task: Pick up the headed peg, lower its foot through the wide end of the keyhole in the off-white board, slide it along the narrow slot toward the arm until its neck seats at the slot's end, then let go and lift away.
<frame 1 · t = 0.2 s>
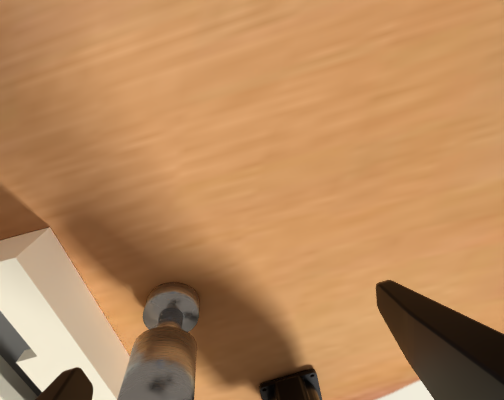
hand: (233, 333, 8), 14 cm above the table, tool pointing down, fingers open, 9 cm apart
keyhole board: (42, 340, 25), on the table
keyhole peg: (173, 303, 25), on the table
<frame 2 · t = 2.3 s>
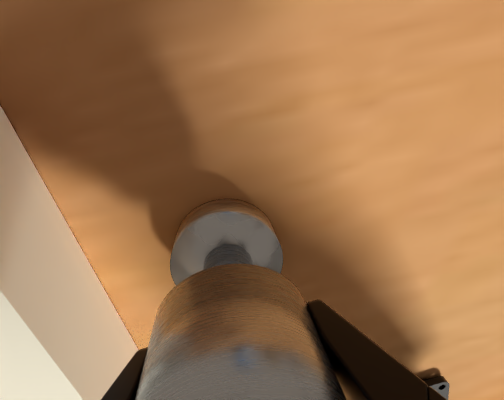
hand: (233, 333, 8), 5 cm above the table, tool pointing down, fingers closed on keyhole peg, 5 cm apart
keyhole peg: (226, 244, 13), on the table, touching gripper
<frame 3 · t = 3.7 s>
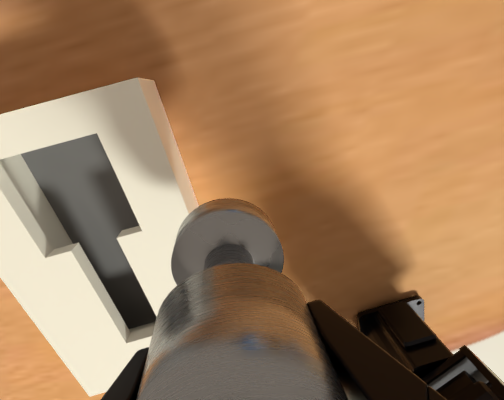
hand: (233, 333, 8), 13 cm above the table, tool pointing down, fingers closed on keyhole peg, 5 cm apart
keyhole board: (127, 239, 21), on the table
keyhole peg: (227, 244, 13), point 8 cm above the table, touching gripper
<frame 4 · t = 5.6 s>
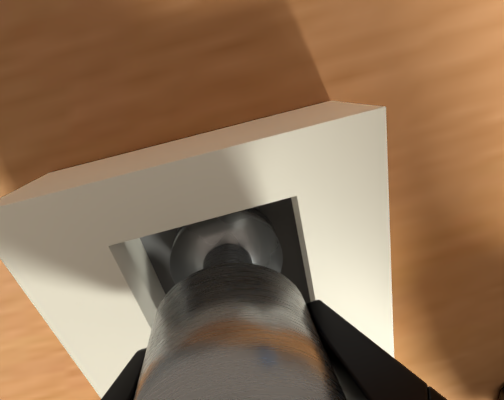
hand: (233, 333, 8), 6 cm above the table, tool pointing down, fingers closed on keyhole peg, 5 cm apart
keyhole board: (247, 313, 15), on the table
keyhole peg: (226, 244, 13), point 1 cm above the table, touching gripper
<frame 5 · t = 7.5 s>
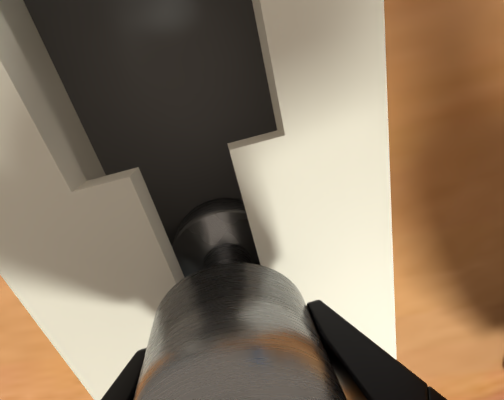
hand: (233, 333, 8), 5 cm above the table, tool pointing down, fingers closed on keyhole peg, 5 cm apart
keyhole board: (204, 183, 12), on the table
keyhole peg: (225, 244, 13), resting on keyhole board, touching gripper
when the fingers open (6 cm above the table, at t = 9.0 s): keyhole peg stays where it is, resting on keyhole board.
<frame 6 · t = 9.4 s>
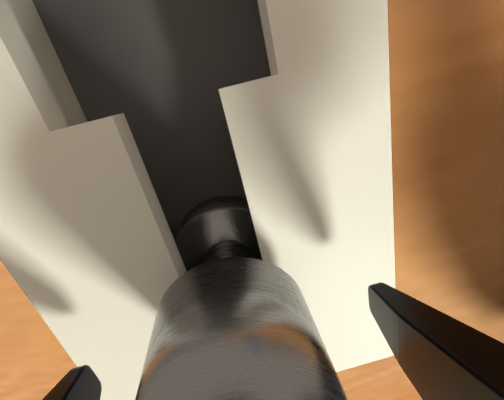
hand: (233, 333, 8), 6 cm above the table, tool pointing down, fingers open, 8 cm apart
keyhole board: (197, 147, 12), on the table
keyhole peg: (226, 241, 13), resting on keyhole board
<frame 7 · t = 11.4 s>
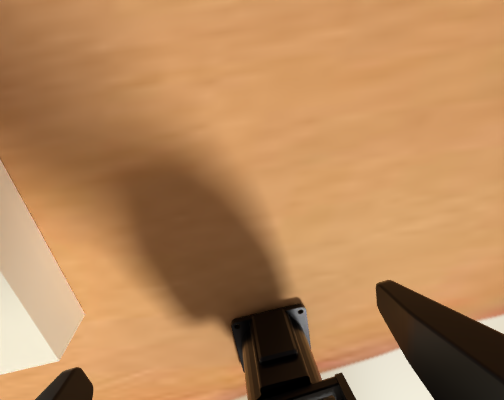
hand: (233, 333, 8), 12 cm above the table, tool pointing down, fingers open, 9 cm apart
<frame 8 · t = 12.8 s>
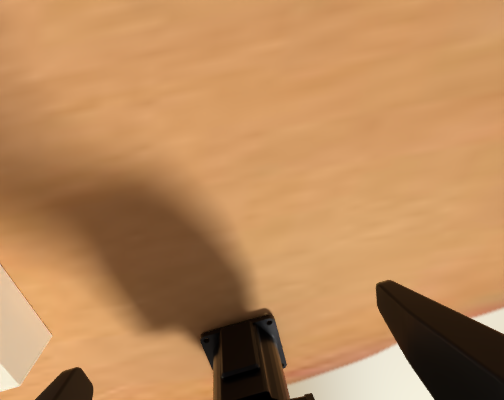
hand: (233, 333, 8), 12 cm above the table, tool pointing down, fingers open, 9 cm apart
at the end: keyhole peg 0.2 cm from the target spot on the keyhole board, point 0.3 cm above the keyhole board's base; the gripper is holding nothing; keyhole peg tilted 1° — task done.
